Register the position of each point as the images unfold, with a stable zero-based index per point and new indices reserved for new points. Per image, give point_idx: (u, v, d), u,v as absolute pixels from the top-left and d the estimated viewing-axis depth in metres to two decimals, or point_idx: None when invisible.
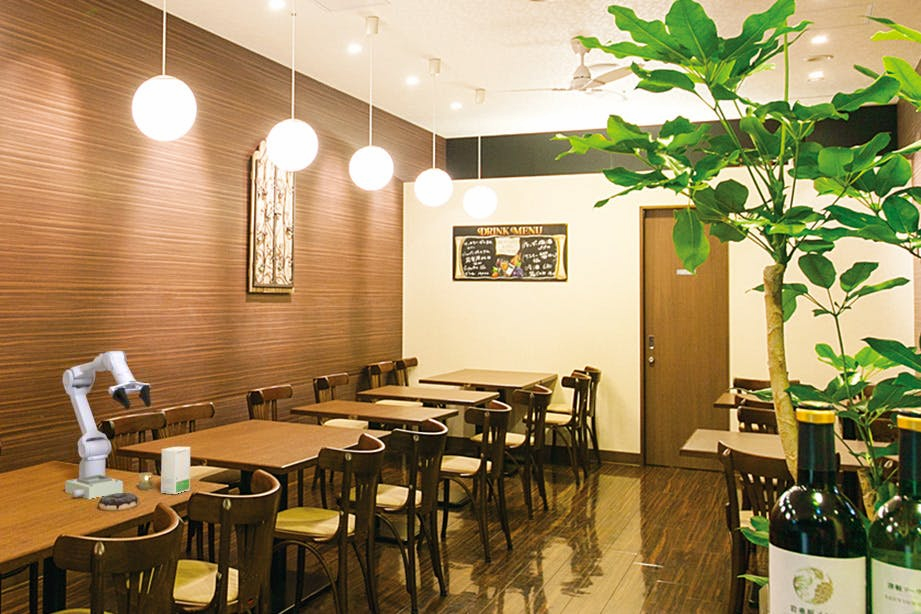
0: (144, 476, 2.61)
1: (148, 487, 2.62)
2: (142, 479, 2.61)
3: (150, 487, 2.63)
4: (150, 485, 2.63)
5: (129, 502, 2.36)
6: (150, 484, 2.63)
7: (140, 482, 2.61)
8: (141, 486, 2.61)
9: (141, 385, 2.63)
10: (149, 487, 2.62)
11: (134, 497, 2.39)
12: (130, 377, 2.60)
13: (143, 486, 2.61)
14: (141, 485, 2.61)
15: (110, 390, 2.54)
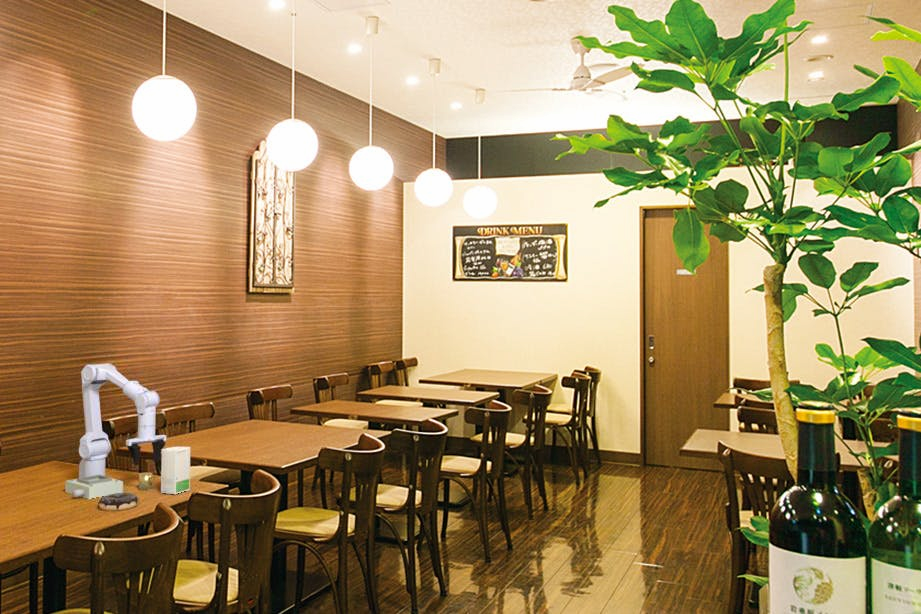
0: (144, 476, 2.61)
1: (148, 487, 2.62)
2: (142, 479, 2.61)
3: (150, 487, 2.63)
4: (150, 485, 2.63)
5: (129, 502, 2.36)
6: (150, 484, 2.63)
7: (140, 482, 2.61)
8: (141, 486, 2.61)
9: (158, 438, 2.66)
10: (149, 487, 2.62)
11: (134, 497, 2.39)
12: (151, 433, 2.62)
13: (143, 486, 2.61)
14: (141, 485, 2.61)
15: (127, 443, 2.57)
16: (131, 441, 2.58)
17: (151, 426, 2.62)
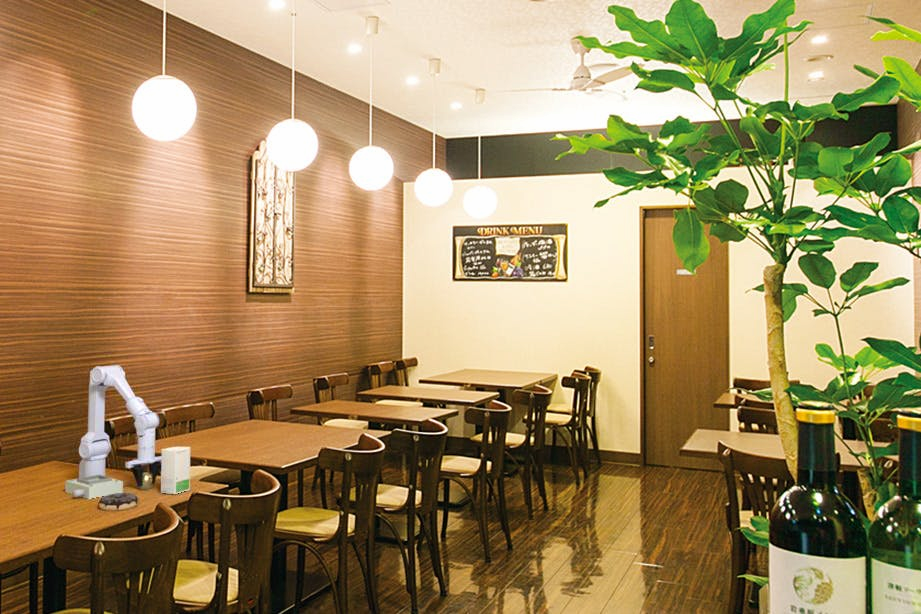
0: (144, 476, 2.61)
1: (148, 487, 2.62)
2: (142, 479, 2.61)
3: (150, 487, 2.63)
4: (150, 485, 2.63)
5: (129, 502, 2.36)
6: (150, 484, 2.63)
7: None
8: (141, 486, 2.61)
9: None
10: (149, 487, 2.62)
11: (134, 497, 2.39)
12: (151, 454, 2.62)
13: (143, 486, 2.61)
14: None
15: (127, 465, 2.57)
16: (131, 463, 2.58)
17: (151, 448, 2.62)
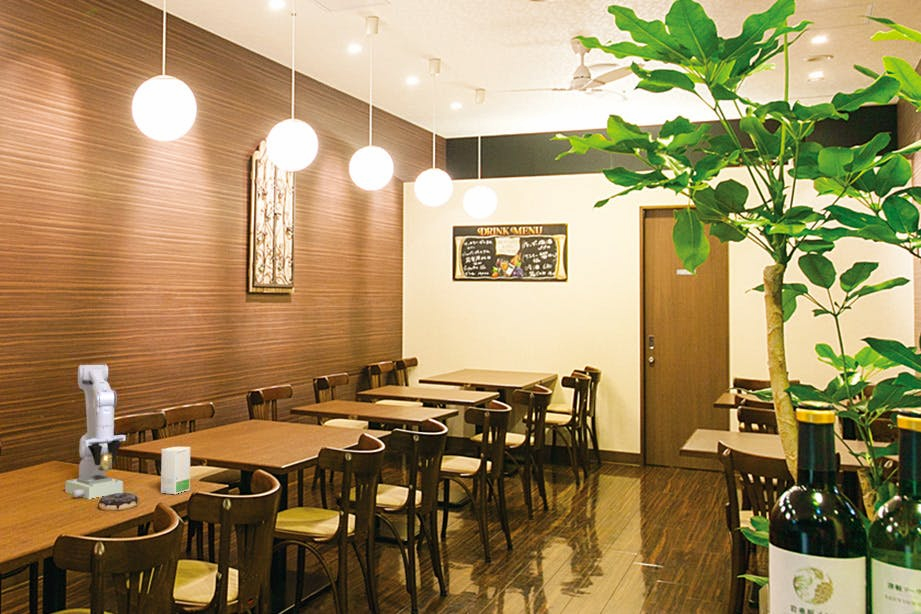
0: (104, 456, 2.56)
1: (108, 467, 2.57)
2: (102, 459, 2.56)
3: (110, 467, 2.58)
4: (110, 465, 2.58)
5: (129, 502, 2.36)
6: (110, 464, 2.58)
7: None
8: (101, 466, 2.56)
9: (117, 438, 2.61)
10: (109, 467, 2.57)
11: (134, 497, 2.39)
12: (109, 433, 2.57)
13: (103, 466, 2.56)
14: (101, 465, 2.56)
15: (84, 443, 2.52)
16: (88, 441, 2.53)
17: (109, 426, 2.57)
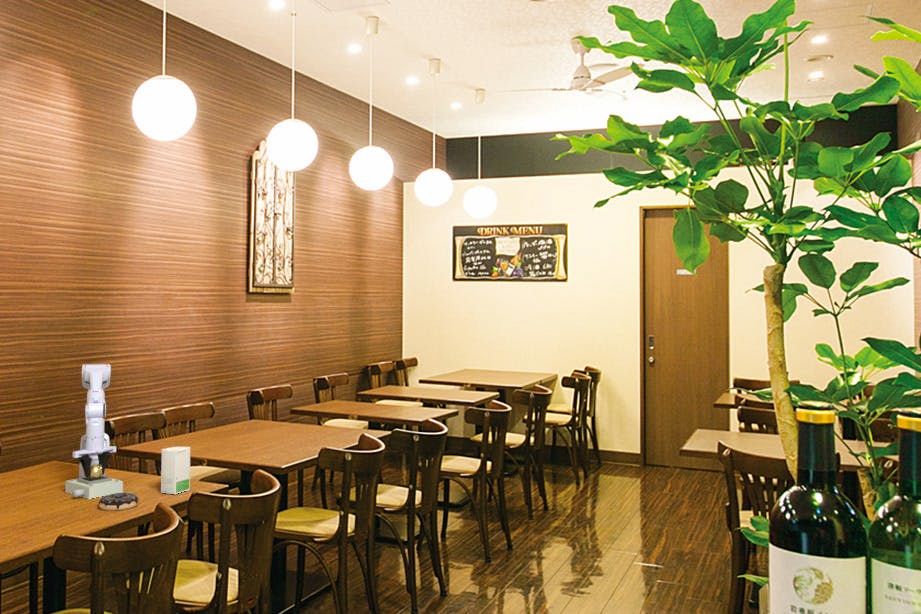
0: (94, 468, 2.55)
1: (98, 479, 2.56)
2: (92, 471, 2.55)
3: None
4: (100, 477, 2.56)
5: (129, 502, 2.36)
6: (100, 476, 2.56)
7: None
8: (91, 478, 2.55)
9: None
10: (99, 479, 2.56)
11: (134, 497, 2.39)
12: (100, 444, 2.56)
13: (93, 478, 2.55)
14: (91, 477, 2.55)
15: (74, 455, 2.51)
16: (78, 453, 2.51)
17: (99, 437, 2.56)
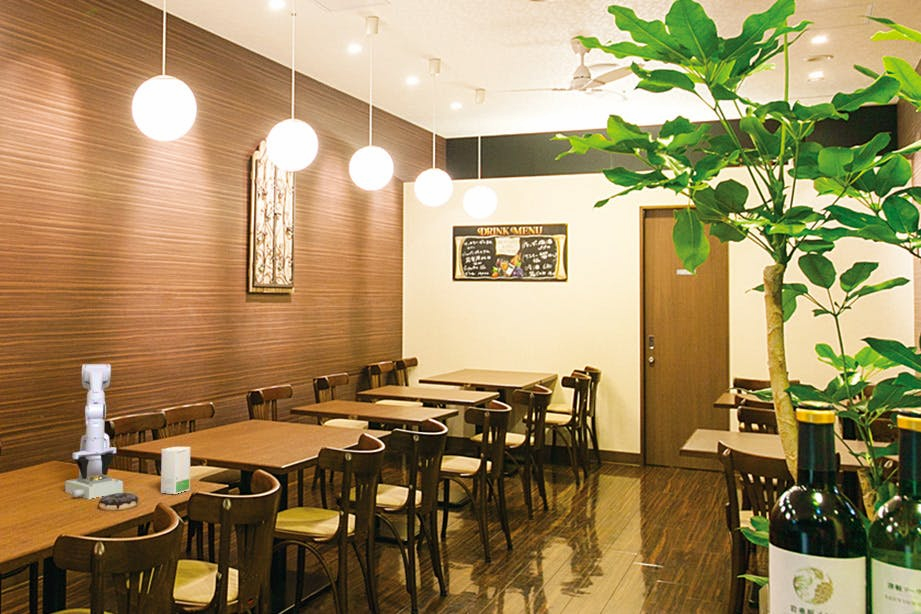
0: (94, 478, 2.55)
1: None
2: None
3: None
4: None
5: (129, 502, 2.36)
6: None
7: None
8: None
9: None
10: None
11: (134, 497, 2.39)
12: (99, 445, 2.56)
13: None
14: None
15: (74, 456, 2.51)
16: (78, 454, 2.51)
17: (99, 438, 2.56)
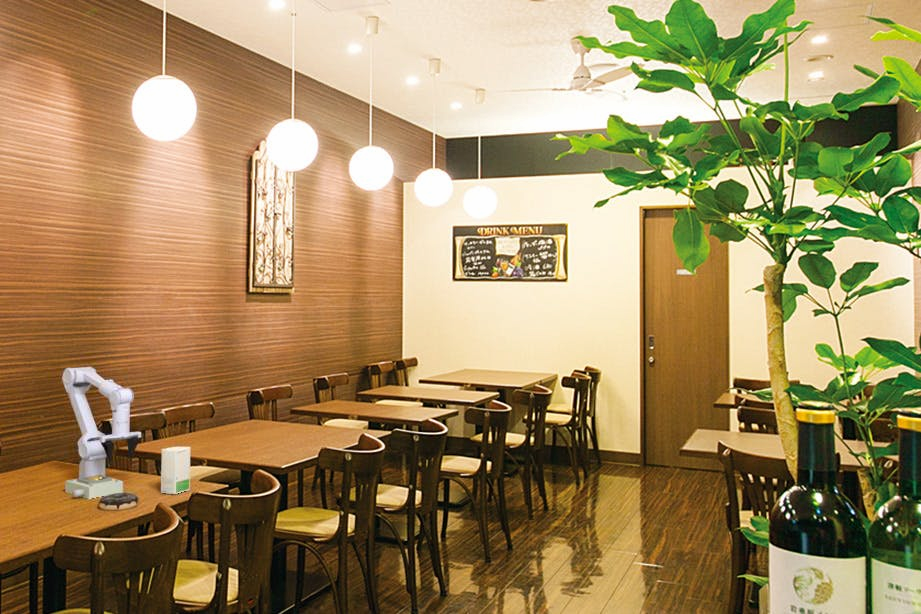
0: (94, 478, 2.55)
1: None
2: None
3: None
4: None
5: (129, 502, 2.36)
6: None
7: None
8: None
9: None
10: None
11: (134, 497, 2.39)
12: (125, 429, 2.64)
13: None
14: None
15: (101, 440, 2.60)
16: (104, 438, 2.60)
17: (125, 423, 2.64)
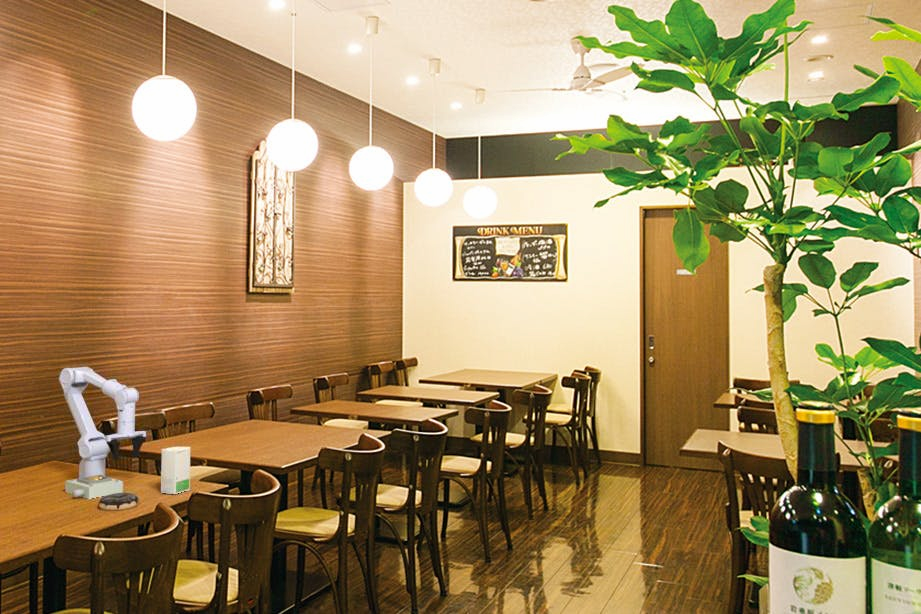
0: (94, 478, 2.55)
1: None
2: None
3: None
4: None
5: (129, 502, 2.36)
6: None
7: None
8: None
9: (138, 434, 2.70)
10: None
11: (134, 497, 2.39)
12: (131, 429, 2.66)
13: None
14: None
15: (107, 439, 2.62)
16: (110, 437, 2.62)
17: (130, 422, 2.66)
